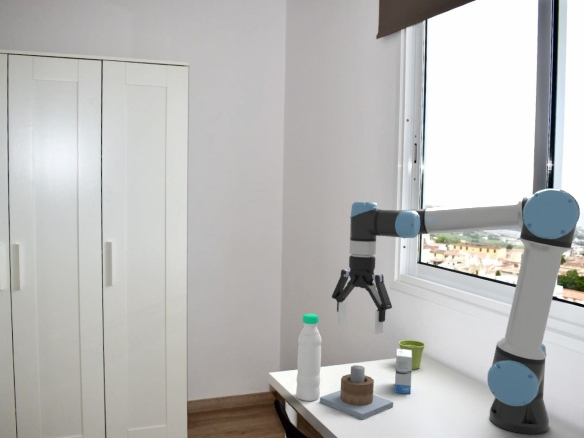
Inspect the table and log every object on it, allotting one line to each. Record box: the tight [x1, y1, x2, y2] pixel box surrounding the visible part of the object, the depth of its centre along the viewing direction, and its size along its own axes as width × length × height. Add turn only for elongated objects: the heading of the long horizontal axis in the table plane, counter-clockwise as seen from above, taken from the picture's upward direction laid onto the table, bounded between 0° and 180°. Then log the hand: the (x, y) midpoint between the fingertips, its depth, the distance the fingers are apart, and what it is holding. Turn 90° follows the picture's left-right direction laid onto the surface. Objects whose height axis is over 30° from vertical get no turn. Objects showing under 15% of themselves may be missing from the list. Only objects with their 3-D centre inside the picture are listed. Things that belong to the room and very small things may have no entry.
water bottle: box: [295, 313, 323, 402], centre depth 165 cm, size 7×7×25 cm
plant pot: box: [398, 339, 426, 370], centre depth 198 cm, size 9×9×9 cm
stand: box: [319, 364, 394, 420], centre depth 160 cm, size 16×14×11 cm
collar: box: [340, 373, 375, 406], centre depth 161 cm, size 9×9×6 cm
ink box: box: [394, 348, 413, 395], centre depth 175 cm, size 8×5×12 cm, turn 168°
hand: (359, 328), depth 160 cm, fingers open, 13 cm apart
